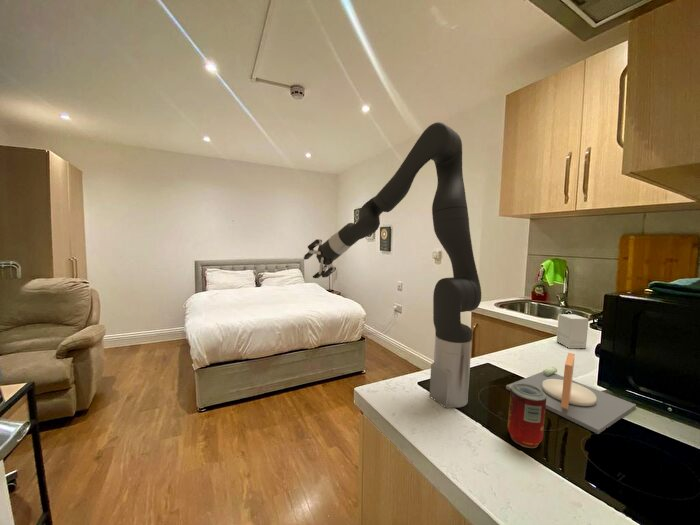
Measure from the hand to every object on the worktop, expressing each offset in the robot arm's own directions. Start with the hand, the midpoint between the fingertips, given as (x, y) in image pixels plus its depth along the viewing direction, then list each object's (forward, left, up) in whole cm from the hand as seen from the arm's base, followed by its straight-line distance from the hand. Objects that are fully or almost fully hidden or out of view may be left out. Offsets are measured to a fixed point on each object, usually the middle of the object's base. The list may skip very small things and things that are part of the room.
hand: (309, 267), depth 115 cm
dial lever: (+46, -72, -29) cm, 90 cm away
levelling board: (+49, -70, -30) cm, 91 cm away
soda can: (+21, -74, -31) cm, 83 cm away
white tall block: (+97, -50, -31) cm, 114 cm away
